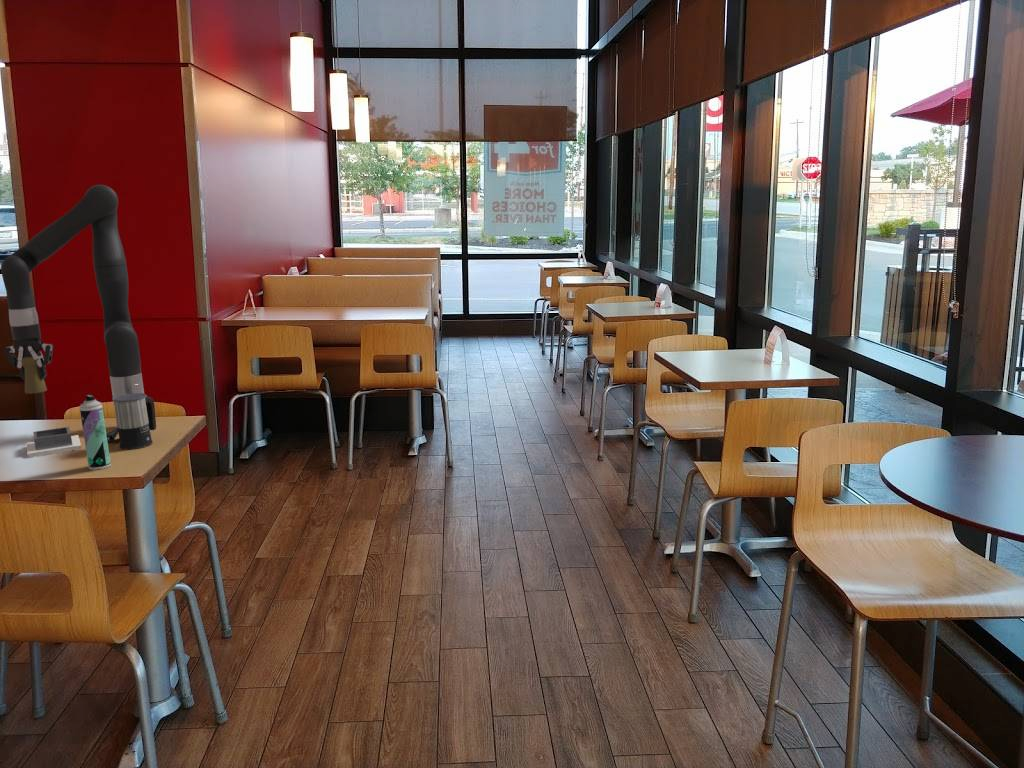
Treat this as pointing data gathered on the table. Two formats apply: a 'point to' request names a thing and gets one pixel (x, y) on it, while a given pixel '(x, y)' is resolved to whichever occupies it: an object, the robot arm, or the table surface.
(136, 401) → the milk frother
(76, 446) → the socket base
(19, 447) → the table surface
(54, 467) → the table surface
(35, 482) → the table surface
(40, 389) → the cork
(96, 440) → the spray can
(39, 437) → the socket collar
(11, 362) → the robot arm
